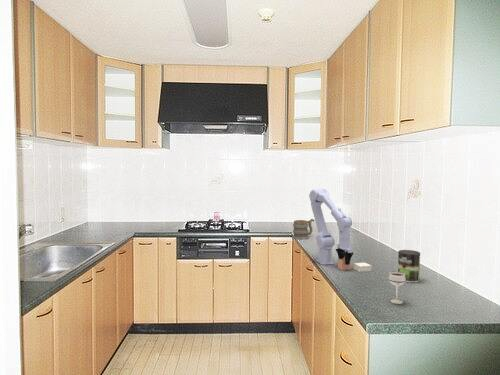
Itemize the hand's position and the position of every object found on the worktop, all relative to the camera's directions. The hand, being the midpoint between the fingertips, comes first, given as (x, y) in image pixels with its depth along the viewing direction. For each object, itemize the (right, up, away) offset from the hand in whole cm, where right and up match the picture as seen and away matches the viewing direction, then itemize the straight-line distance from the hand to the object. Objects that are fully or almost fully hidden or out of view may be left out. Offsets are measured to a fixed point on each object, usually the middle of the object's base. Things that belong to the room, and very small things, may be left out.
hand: (344, 262), depth 211 cm
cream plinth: (+9, -3, -3) cm, 10 cm away
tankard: (-9, +1, +94) cm, 94 cm away
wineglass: (+9, -6, -52) cm, 54 cm away
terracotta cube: (0, -3, 0) cm, 3 cm away
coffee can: (+27, -4, -21) cm, 35 cm away
